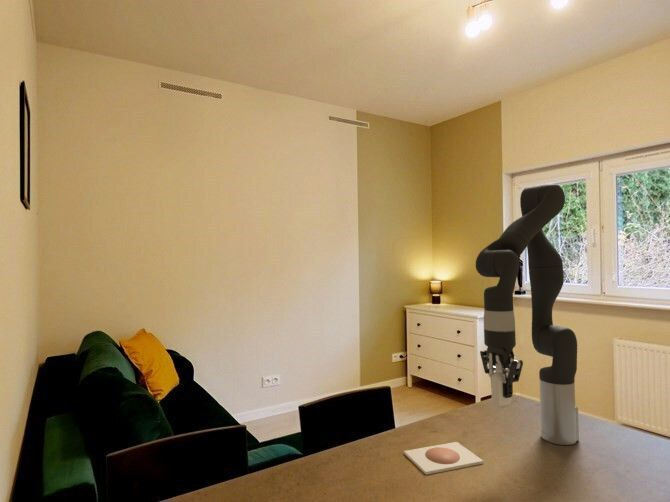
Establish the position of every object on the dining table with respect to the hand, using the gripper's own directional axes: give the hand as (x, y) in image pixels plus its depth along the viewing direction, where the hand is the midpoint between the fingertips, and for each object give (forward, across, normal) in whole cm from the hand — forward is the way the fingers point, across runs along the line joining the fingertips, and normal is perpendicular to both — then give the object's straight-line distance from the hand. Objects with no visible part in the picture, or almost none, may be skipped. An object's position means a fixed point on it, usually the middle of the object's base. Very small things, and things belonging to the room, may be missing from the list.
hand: (501, 394), depth 106 cm
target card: (+19, +10, +12) cm, 24 cm away
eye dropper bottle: (+3, 0, 0) cm, 3 cm away
